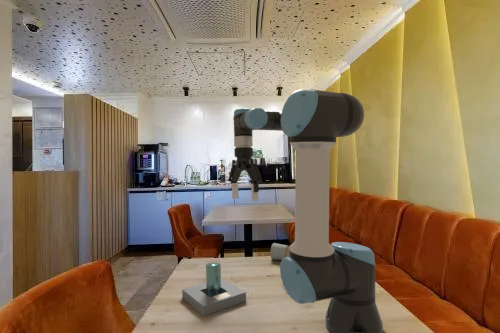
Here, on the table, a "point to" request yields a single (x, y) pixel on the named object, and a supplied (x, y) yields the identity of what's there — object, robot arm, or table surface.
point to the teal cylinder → (213, 279)
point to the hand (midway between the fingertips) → (244, 199)
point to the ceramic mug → (279, 251)
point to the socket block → (213, 297)
